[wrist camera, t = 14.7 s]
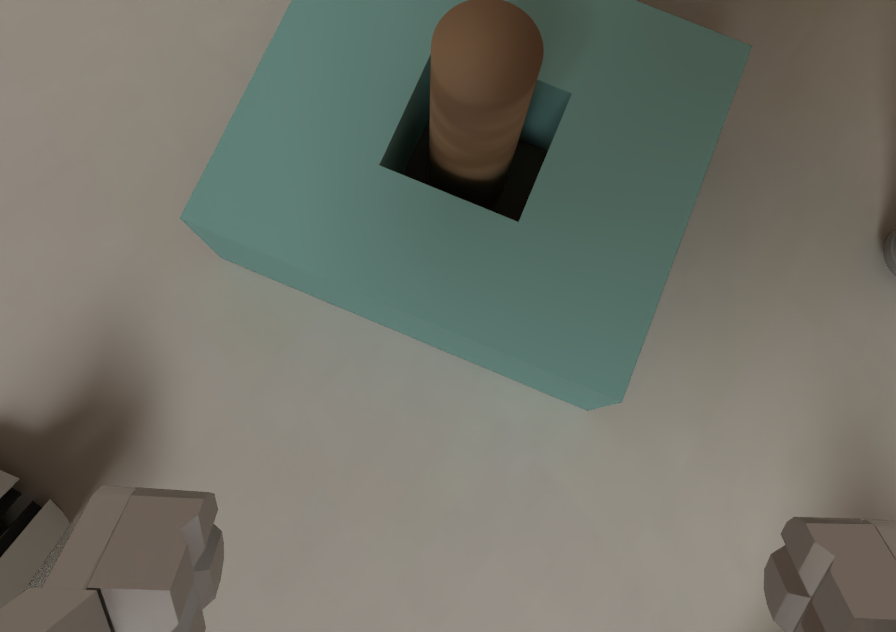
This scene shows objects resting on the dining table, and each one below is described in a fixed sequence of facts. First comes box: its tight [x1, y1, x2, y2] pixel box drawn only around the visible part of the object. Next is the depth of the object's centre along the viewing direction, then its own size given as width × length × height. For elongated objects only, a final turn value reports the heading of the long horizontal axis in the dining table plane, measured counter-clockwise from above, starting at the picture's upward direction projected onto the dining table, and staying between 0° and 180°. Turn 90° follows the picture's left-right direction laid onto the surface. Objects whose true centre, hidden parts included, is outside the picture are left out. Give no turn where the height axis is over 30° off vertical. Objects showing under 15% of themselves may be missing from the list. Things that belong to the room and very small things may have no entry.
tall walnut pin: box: [428, 0, 544, 210], centre depth 25 cm, size 3×3×10 cm
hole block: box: [180, 0, 752, 411], centre depth 28 cm, size 16×14×5 cm
